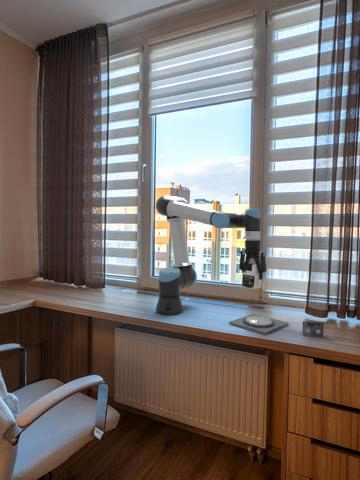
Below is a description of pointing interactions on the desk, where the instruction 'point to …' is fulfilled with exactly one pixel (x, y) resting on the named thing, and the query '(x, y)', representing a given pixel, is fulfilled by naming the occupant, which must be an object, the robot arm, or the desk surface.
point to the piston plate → (259, 324)
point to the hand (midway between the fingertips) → (252, 284)
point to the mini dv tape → (313, 328)
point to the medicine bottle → (250, 277)
